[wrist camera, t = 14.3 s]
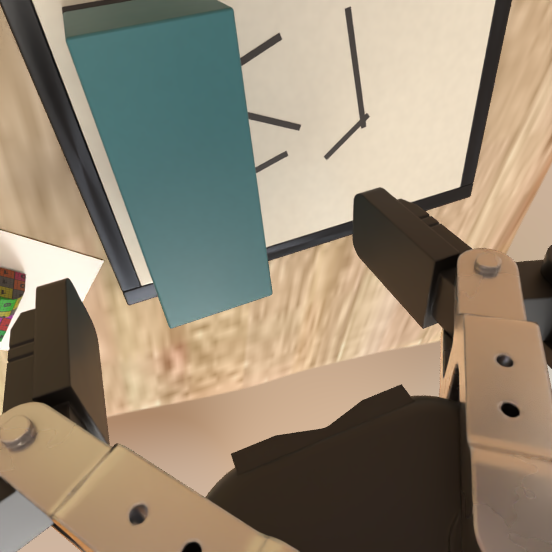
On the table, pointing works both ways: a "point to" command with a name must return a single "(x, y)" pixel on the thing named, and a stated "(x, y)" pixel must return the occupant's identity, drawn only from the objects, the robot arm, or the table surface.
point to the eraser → (177, 144)
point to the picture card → (36, 275)
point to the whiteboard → (306, 111)
